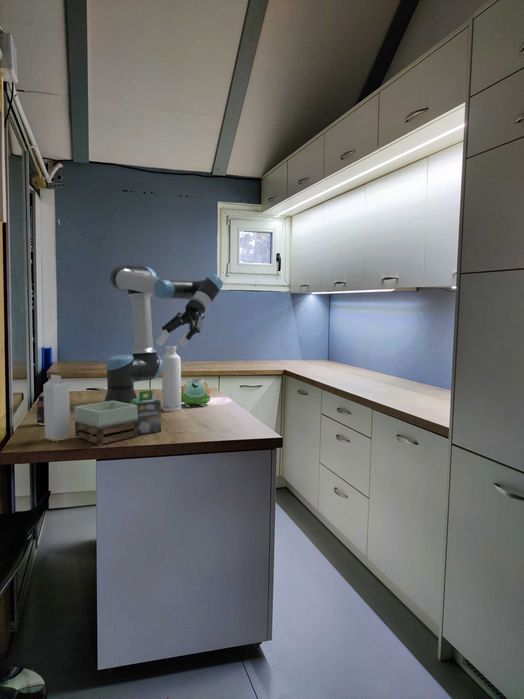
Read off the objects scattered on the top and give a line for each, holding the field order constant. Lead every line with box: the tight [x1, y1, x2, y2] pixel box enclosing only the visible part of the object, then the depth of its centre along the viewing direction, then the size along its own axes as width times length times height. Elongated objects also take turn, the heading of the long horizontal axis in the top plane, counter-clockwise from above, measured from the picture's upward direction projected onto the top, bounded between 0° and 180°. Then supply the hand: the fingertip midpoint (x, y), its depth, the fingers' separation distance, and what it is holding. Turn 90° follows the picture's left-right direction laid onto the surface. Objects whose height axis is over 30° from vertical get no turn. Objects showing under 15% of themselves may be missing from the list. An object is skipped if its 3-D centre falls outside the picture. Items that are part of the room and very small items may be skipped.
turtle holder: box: [181, 378, 211, 408], centre depth 233 cm, size 12×18×12 cm
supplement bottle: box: [35, 394, 45, 424], centre depth 194 cm, size 6×6×11 cm
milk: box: [42, 374, 71, 440], centre depth 171 cm, size 6×6×22 cm
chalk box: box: [131, 390, 162, 435], centre depth 184 cm, size 9×9×15 cm
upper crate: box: [74, 401, 138, 427], centre depth 173 cm, size 15×15×5 cm
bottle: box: [161, 345, 182, 412], centre depth 222 cm, size 8×8×28 cm
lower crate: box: [74, 420, 139, 446], centre depth 174 cm, size 15×15×6 cm
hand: (169, 344), depth 192 cm, fingers open, 13 cm apart
